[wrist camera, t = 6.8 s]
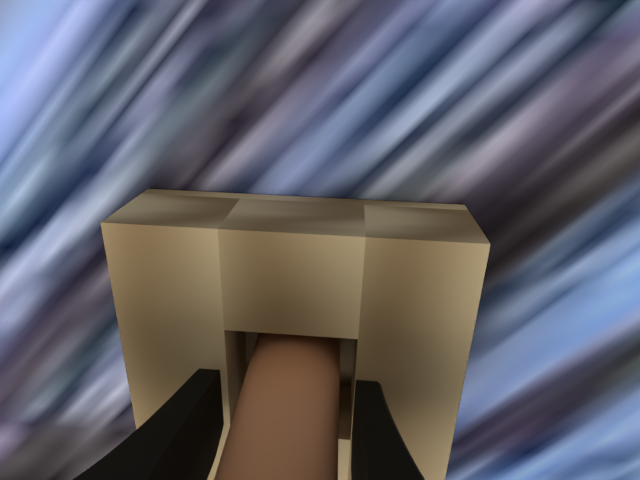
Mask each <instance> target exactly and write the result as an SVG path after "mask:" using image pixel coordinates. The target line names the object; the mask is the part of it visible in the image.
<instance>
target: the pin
mask: <svg viewBox="0 0 640 480" xmlns="http://www.w3.org/2000/svg"><path fill="white" fill-rule="evenodd" d="M339 387H340V338H333V337H319V336H304V335H289V334H274V333H260V332H259V333H258V336H257V339H256V342H255V346H254V349H253V352H252V356H251V359H250V362H249V366H248V369H247V372H246V375H245V379H244V382H243V385H242V389H241V392H240V395H239V399H238V402H237V405H236V408H235V412H234V415H233V418H232V422H231V425H230V428H229V432H228V435H227V438H226V441H225V445H224V448H223V451H222V455H221V458H220V461H219V465H218V468H217V471H216V474H215V478H214V480H338V439H339Z"/></svg>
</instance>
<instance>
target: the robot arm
mask: <svg viewBox="0 0 640 480" xmlns="http://www.w3.org/2000/svg"><path fill="white" fill-rule="evenodd" d="M223 426H224V417H223V403H222V389H221V376H220V370H214V369H201V368H199V369H198V370H197V371H196V372H195V373H194V374H193V375H192V376H191V377H190V378H189V379H188V380H187V381H186V382H185V383H184V384H183V385H182V386H181V387H180V388H179V389H178V390H177V391H176V392H175V393H174V394H173V395H172V396H171V397H170V398H169V399H168V400H167V401H166V402H165V403H164V404H163V405H162V406H161V407H160V408H159V409H158V410H157V411H156V412H155V413H154V414H153V415H152V416H151V417H150V418H149V419H148V420H147V421H146V422H144V423H143V424H142V425H141V426H140V427H139V428H138V429H137V430H135V431H134V432H133V433H132V434H131V435H130V436H129V437H127V438H126V439H125V440H124V441H123V442H122V443H121V444H119V445H118V446H117V447H116V448H114V449H113V450H112V451H111V452H110V453H108V454H107V455H106V456H104V457H103V458H102V459H101V460H99V461H98V462H97V463H95V464H94V465H93V466H91V467H90V468H89V469H87V470H86V471H85V472H83V473H82V474H80V475H79V476H77V477H76V478H74V479H73V480H207V479H208V476H209V473H210V471H211V468H212V466H213V463H214V460H215V457H216V453H217V450H218V446H219V442H220V438H221V434H222V430H223ZM351 480H425V479H424V477H423V475H422V474H421V472H420V470H419V469H418V467H417V465H416V463H415V462H414V460H413V458H412V456H411V455H410V453H409V451H408V449H407V447H406V445H405V443H404V441H403V439H402V437H401V435H400V433H399V431H398V429H397V427H396V424H395V422H394V420H393V418H392V415H391V413H390V410H389V408H388V405H387V403H386V400H385V397H384V394H383V391H382V387H381V384H380V383H379V382H378V381H366V380H356V385H355V398H354V411H353V425H352V444H351Z"/></svg>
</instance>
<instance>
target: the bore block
mask: <svg viewBox="0 0 640 480" xmlns="http://www.w3.org/2000/svg"><path fill="white" fill-rule="evenodd" d="M101 228H102V234H103V240H104V246H105V251H106V257H107V263H108V269H109V274H110V280H111V286H112V292H113V297H114V303H115V309H116V315H117V320H118V326H119V332H120V338H121V343H122V349H123V355H124V361H125V366H126V372H127V378H128V384H129V389H130V395H131V401H132V407H133V412H134V418H135V424H136V430H137V429H138V428H139V427H140V426H141V425H142V424H143V423H144V422H146V421H147V420H148V419H149V418H150V417H151V416H152V415H153V414H154V413H155V412H156V411H157V410H158V409H159V408H160V407H161V406H162V405H163V404H164V403H165V402H166V401H167V400H168V399H169V398H170V397H171V396H172V395H173V394H174V393H175V392H176V391H177V390H178V389H179V388H180V387H181V386H182V385H183V384H184V383H185V382H186V381H187V380H188V379H189V378H190V377H191V376H192V375H193V374H194V373H195V372H196V371H197V370H198V369H199V368H201V369H214V370H220V376H221V389H222V403H223V417H224V426H223V430H222V434H221V438H220V442H219V446H218V450H217V453H216V457H215V460H214V463H213V466H212V468H211V471H210V473H209V476H208V479H207V480H214V478H215V474H216V471H217V468H218V465H219V461H220V458H221V455H222V451H223V448H224V445H225V441H226V438H227V435H228V432H229V428H230V425H231V422H232V418H233V415H234V412H235V408H236V405H237V402H238V399H239V395H240V392H241V389H242V385H243V382H244V379H245V375H246V372H247V369H248V366H249V362H250V359H251V356H252V352H253V349H254V346H255V342H256V339H257V336H258V333H259V332H260V333H274V334H289V335H304V336H319V337H333V338H340V387H339V439H338V480H351V444H352V425H353V411H354V398H355V385H356V380H366V381H378V382H379V383H380V384H381V387H382V391H383V394H384V397H385V400H386V403H387V405H388V408H389V410H390V413H391V415H392V418H393V420H394V422H395V424H396V427H397V429H398V431H399V433H400V435H401V437H402V439H403V441H404V443H405V445H406V447H407V449H408V451H409V453H410V455H411V456H412V458H413V460H414V462H415V463H416V465H417V467H418V469H419V470H420V472H421V474H422V475H423V477H424V479H425V480H445V476H446V471H447V466H448V461H449V456H450V451H451V446H452V440H453V435H454V430H455V425H456V420H457V415H458V409H459V404H460V399H461V394H462V389H463V384H464V379H465V373H466V368H467V363H468V358H469V353H470V348H471V343H472V337H473V332H474V327H475V322H476V317H477V312H478V306H479V301H480V296H481V291H482V286H483V281H484V276H485V270H486V265H487V260H488V255H489V250H490V245H491V244H490V242H489V241H488V239H487V238H486V236H485V235H484V233H483V232H482V230H481V229H480V227H479V226H478V224H477V223H476V221H475V220H474V218H473V217H472V215H471V214H470V212H469V211H468V209H467V208H466V206H465V205H459V204H439V203H419V202H400V201H380V200H360V199H340V198H321V197H301V196H281V195H262V194H242V193H222V192H203V191H183V190H163V189H147V190H146V191H144V192H143V193H142V194H140V195H139V196H137V197H136V198H135V199H133V200H132V201H130V202H129V203H127V204H126V205H125V206H123V207H122V208H120V209H119V210H118V211H116V212H115V213H113V214H112V215H110V216H109V217H108V218H106V219H105V220H103V221H102V222H101Z"/></svg>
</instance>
